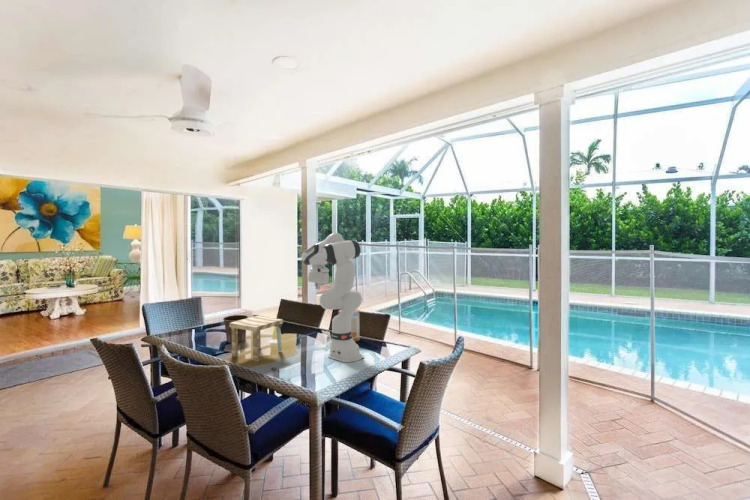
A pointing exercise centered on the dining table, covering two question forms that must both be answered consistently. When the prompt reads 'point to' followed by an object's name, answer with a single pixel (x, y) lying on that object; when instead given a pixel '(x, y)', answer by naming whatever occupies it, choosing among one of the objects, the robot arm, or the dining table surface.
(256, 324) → the stool
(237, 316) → the plant pot
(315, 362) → the dining table surface
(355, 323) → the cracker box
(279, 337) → the folding leg
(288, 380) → the dining table surface
